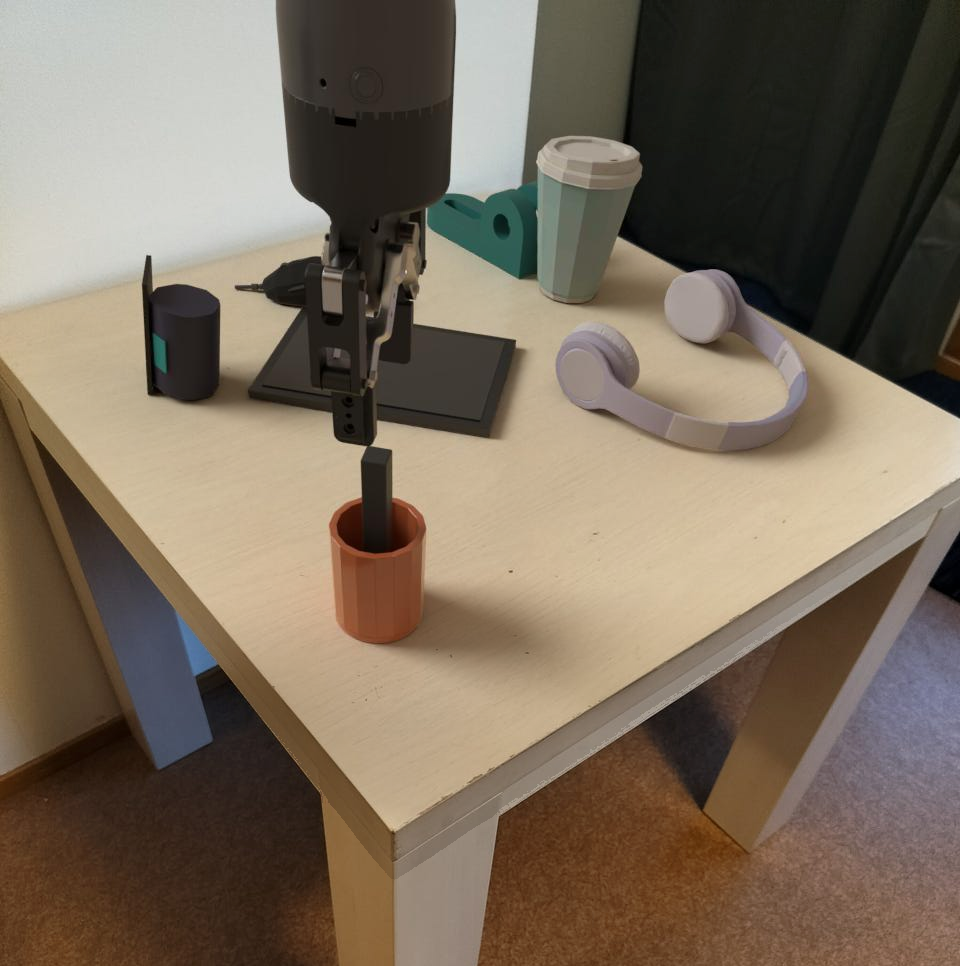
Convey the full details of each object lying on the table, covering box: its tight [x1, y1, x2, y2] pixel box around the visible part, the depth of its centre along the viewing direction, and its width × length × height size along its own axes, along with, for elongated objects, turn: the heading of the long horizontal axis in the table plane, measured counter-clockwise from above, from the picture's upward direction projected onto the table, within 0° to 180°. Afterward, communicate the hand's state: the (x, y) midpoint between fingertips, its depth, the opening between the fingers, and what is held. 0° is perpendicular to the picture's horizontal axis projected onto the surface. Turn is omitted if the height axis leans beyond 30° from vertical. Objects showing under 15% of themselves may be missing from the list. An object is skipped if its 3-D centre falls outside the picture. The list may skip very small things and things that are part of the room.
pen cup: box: [328, 496, 427, 644], centre depth 61 cm, size 6×6×8 cm
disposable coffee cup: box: [535, 135, 643, 304], centre depth 93 cm, size 11×11×15 cm
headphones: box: [554, 268, 809, 451], centre depth 84 cm, size 22×7×20 cm
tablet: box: [247, 306, 517, 439], centre depth 85 cm, size 22×16×1 cm
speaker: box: [141, 254, 221, 401], centre depth 78 cm, size 8×6×10 cm
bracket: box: [426, 180, 538, 280], centre depth 103 cm, size 18×7×8 cm, turn 42°
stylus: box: [360, 445, 393, 554], centre depth 59 cm, size 2×2×13 cm
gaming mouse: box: [234, 255, 322, 307], centre depth 93 cm, size 6×15×4 cm, turn 88°
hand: (375, 398), depth 51 cm, fingers open, 8 cm apart
